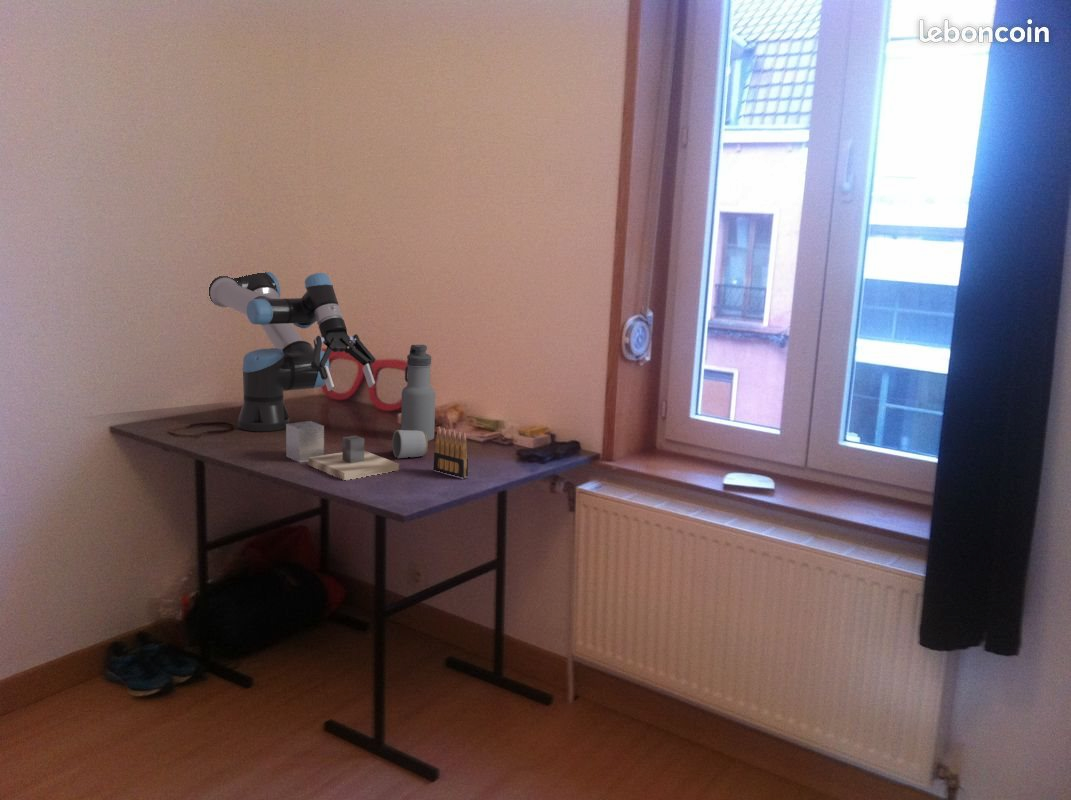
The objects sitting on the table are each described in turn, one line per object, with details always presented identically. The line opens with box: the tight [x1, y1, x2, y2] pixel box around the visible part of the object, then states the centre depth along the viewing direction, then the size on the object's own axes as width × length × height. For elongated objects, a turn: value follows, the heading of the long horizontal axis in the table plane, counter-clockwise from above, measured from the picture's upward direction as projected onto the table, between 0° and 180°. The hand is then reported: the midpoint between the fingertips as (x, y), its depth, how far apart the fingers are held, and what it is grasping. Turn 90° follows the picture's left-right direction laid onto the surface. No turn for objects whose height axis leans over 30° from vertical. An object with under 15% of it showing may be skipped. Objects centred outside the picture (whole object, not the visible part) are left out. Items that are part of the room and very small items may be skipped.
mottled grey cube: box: [285, 420, 325, 463], centre depth 244 cm, size 7×7×9 cm
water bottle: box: [400, 344, 436, 442], centre depth 269 cm, size 10×10×28 cm
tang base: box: [307, 435, 400, 481], centre depth 236 cm, size 18×16×8 cm
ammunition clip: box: [432, 426, 469, 478], centre depth 233 cm, size 11×2×12 cm, turn 51°
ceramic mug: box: [392, 429, 429, 459], centre depth 251 cm, size 11×8×8 cm
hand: (351, 387), depth 264 cm, fingers open, 13 cm apart
